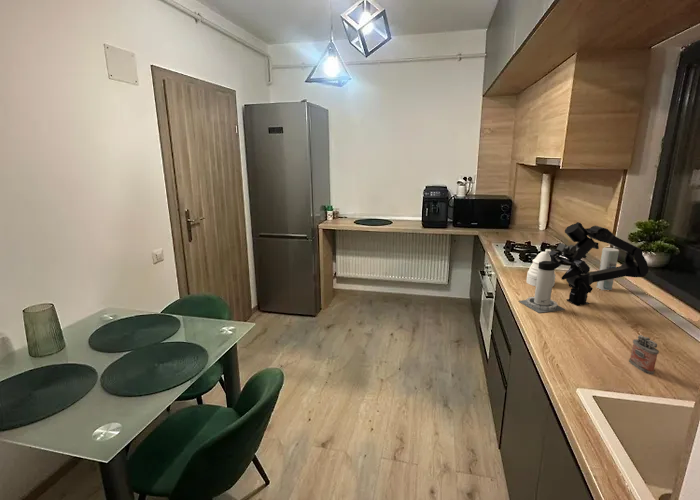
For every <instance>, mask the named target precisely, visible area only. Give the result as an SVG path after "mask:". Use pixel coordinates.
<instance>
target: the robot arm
mask: <svg viewBox="0 0 700 500" xmlns="http://www.w3.org/2000/svg"><path fill="white" fill-rule="evenodd" d="M564 233H565V234H566V235H567V237H569V238H570V240H571V241H572V242H573V243H575V244H570V245H567V244H565V243H562V242H560V243H558V245H557V248H556V250H555V249H551V252H550V253H549V254H548V255H549V256H550V259H551V261H553V262H556V264H555V267H554V268H555V270H556V269H557V268H559V267H561V266H562V264H563V263H567V264H569V265H570V267H569V268H568V269H567V271H566V272H565V273H564V274H562V276H561V280H562V281H564V280H566V282H567V284H568V286H569V287H570V292H569V296H568V298H567V299H566V302H568V303H571V304H573V305H575V306H586V305H590V303H589V302H588V301H587V300H588V294H589V293H592V291H593V287H592V284H593V283H597V282H599V281H604V280H609V279H618V278H622V277H623V278H624V277H631V278H644V277H646V276H647V275H648V273H649V270H650V268H649V266H648V262H647V260H646V257H645V256H644V254H643V249H641V248H640V247H638V246H636V245H634V244H631V243H629V242H627V241H625V240H624V239H621V238H619V237H618V236H616V235H615V234H614V233H613V232H612V231H610V229H608V228H605V227H602V226H598V225H592V226H591V227H587V228H585V227H584V226H583V224H582V223H581V222H579V221H577V222H576V223H572V224H571V225H568V226H567V227H566V228H565V230H564ZM597 241H598V242H597ZM599 242H600V243H601V242H602V243H604V244H609V245H610V246H613V247H615V249H618V250H621V251H623V252H625V257H624V263H622V264H621V265H620V266H616V267H614V268H609V269H604V270H595V271H590V269H591V267H590V266H589V265H588V263H587V262H586V261H585V260H582V259H586V258H587V254H588V253H589V252H590V251H591V250H592V249H594V250H599V248H600V247H599Z"/></svg>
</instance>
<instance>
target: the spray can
mask: <svg viewBox="0 0 700 500" xmlns="http://www.w3.org/2000/svg"><path fill="white" fill-rule="evenodd" d="M619 253H620V249H619V248H616V247H615V248H613V247H603V248H602V251H601V256H600V257H601V258H600V262H599V263H600V264H599V270H604V269H609V268H614V267H617V264H618V260H619V259H618V258H619ZM614 279H615V278H614ZM614 279H609V280H604V281H599V282H596V289H597V288H599V289H601V290H600V291H603V290H611V291H612V289H613V286H614V285H613V284H614ZM599 289H598V290H599Z"/></svg>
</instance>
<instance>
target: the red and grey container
mask: <svg viewBox="0 0 700 500" xmlns="http://www.w3.org/2000/svg"><path fill="white" fill-rule="evenodd" d="M657 347H658V343H657V342H655V341H653V340H652V339H651V338H650V337H648V336H644V335H643V334H642V335H641V334H638V336H637V339H633V340H632V348H631V354H630V358H629V359H628V362H629V363H630V364H631V365H632V366H634V367H635V368H636V369H637V370H639V371H641V372H643V373H645V374H647V375H654V374H655V367H656V363H657V357H658V355H659V352H660V351H659V350H658V349H657Z"/></svg>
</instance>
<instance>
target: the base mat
mask: <svg viewBox="0 0 700 500" xmlns="http://www.w3.org/2000/svg"><path fill="white" fill-rule="evenodd" d="M518 302H519V304H520V303H521V304H522V305H523V306H526V307H527V308H528V309H531V310H532V311H534V312H536V313H538V314H544V313H551V312H560V311H566V308H564V307H562V306H559V305H558V307H557V308H556V309H555V310H550V311H546V310H538V309H535V308H532V307H530V306H528V305H527V304H526V299H522V300H518ZM531 303H533V304H534V301H531ZM550 306H553V305H552V304H550Z"/></svg>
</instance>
